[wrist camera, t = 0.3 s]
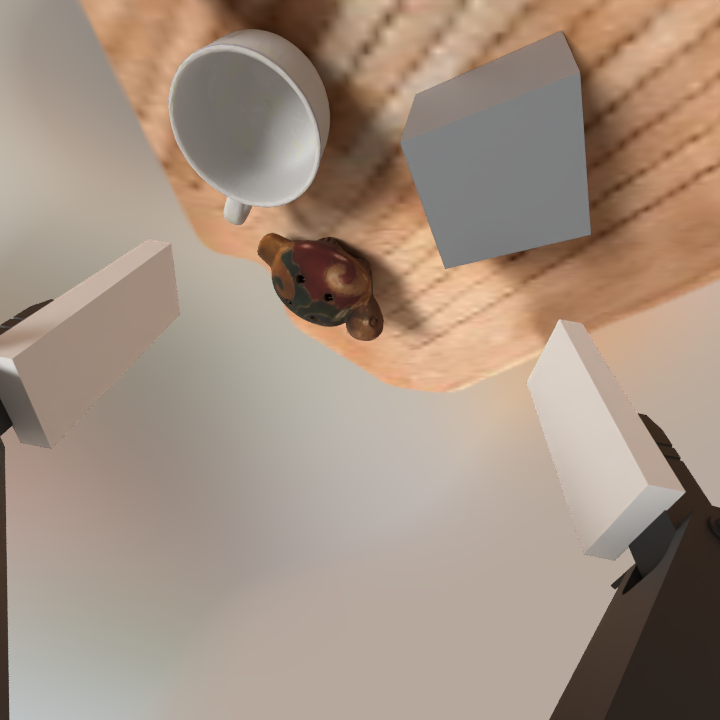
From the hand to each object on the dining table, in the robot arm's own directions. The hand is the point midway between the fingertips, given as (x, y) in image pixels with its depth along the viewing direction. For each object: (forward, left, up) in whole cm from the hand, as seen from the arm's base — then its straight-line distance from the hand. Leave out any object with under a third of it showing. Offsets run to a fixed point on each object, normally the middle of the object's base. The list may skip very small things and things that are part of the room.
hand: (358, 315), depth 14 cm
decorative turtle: (+15, +13, -26) cm, 33 cm away
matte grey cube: (-4, +6, -26) cm, 27 cm away
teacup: (+13, -2, -26) cm, 30 cm away
